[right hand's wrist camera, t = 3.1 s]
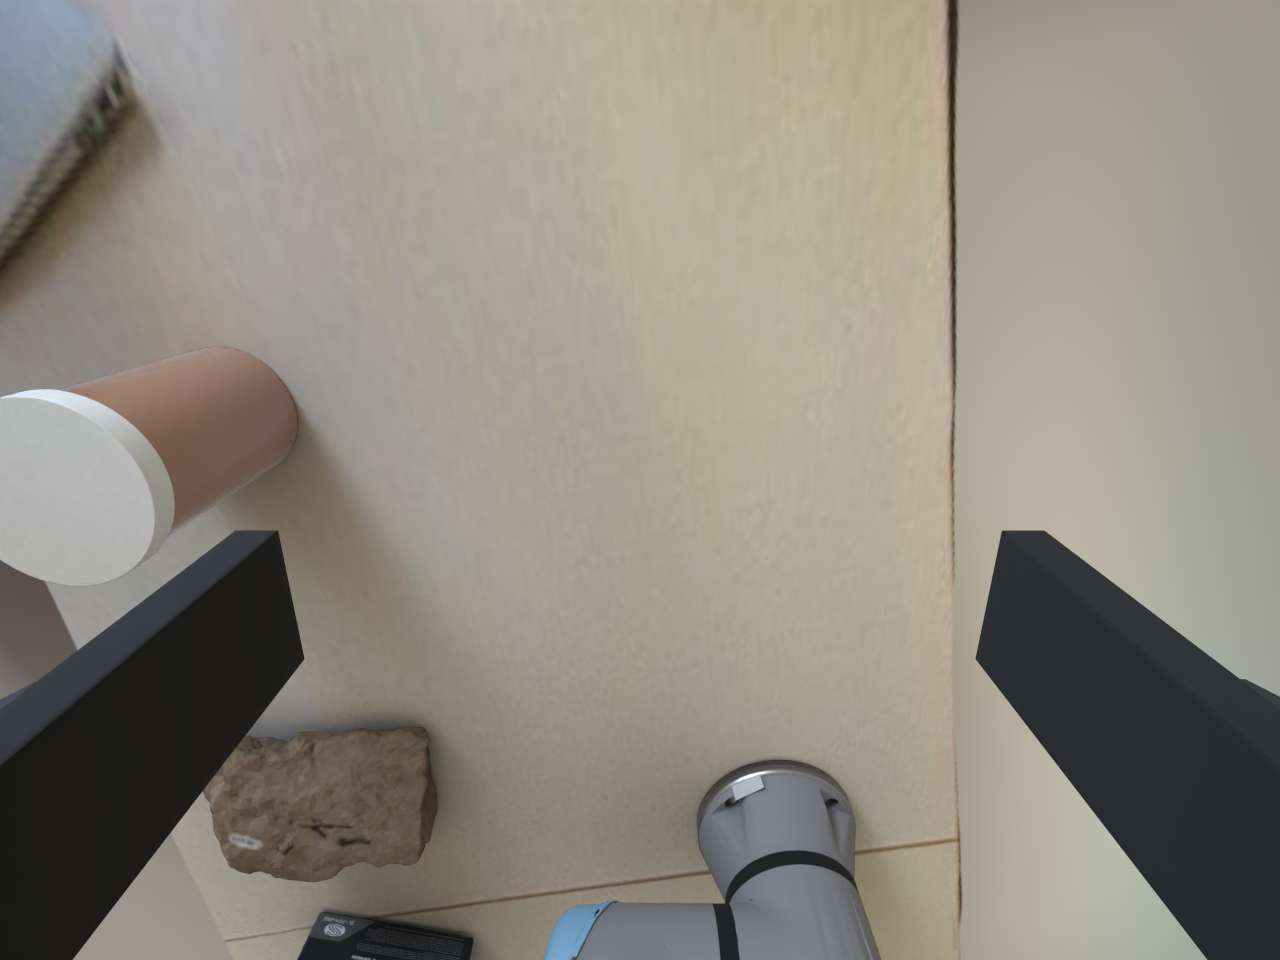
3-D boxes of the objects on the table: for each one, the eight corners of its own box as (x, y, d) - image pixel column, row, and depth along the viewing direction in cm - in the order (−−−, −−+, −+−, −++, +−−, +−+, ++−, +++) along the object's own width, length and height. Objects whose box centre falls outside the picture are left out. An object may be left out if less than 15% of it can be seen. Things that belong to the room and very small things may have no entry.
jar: (308, 473, 55) (173, 576, 39) (181, 474, 55) (-6, 576, 39) (284, 346, 51) (124, 401, 36) (149, 347, 52) (-73, 402, 36)
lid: (195, 571, 40) (176, 585, 39) (9, 572, 40) (-17, 586, 39) (146, 388, 37) (124, 396, 35) (-59, 389, 37) (-92, 397, 35)
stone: (213, 861, 65) (183, 908, 60) (203, 715, 64) (171, 749, 58) (440, 840, 69) (433, 882, 63) (437, 701, 67) (429, 732, 61)
